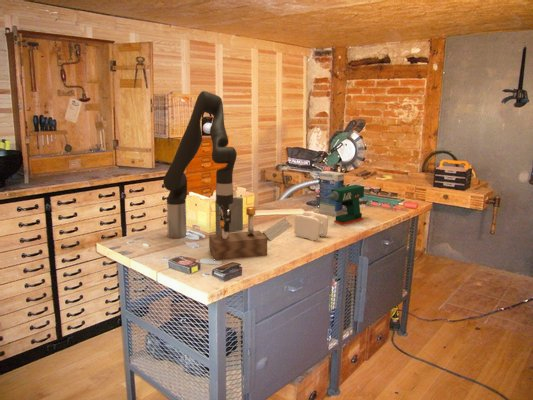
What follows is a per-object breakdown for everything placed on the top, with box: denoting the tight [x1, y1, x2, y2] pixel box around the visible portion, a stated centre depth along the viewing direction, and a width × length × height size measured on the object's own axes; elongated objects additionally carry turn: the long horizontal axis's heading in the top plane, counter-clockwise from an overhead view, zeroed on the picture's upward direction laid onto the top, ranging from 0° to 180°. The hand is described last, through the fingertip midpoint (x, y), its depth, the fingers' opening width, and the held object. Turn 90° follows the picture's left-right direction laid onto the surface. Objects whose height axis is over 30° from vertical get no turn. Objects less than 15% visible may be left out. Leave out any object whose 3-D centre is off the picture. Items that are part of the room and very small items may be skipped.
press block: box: [208, 230, 268, 261], centre depth 199 cm, size 24×12×8 cm, turn 108°
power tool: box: [325, 184, 365, 226], centre depth 248 cm, size 32×7×20 cm, turn 131°
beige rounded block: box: [293, 211, 329, 241], centre depth 224 cm, size 15×11×12 cm
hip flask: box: [214, 196, 244, 234], centre depth 230 cm, size 16×4×20 cm, turn 125°
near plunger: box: [220, 220, 229, 239], centre depth 196 cm, size 4×4×15 cm
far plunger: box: [245, 206, 256, 237], centre depth 199 cm, size 4×4×15 cm
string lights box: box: [318, 170, 345, 218], centre depth 267 cm, size 13×8×26 cm, turn 49°
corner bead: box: [261, 217, 293, 242], centre depth 232 cm, size 29×9×5 cm, turn 155°
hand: (224, 229), depth 195 cm, fingers open, 6 cm apart
